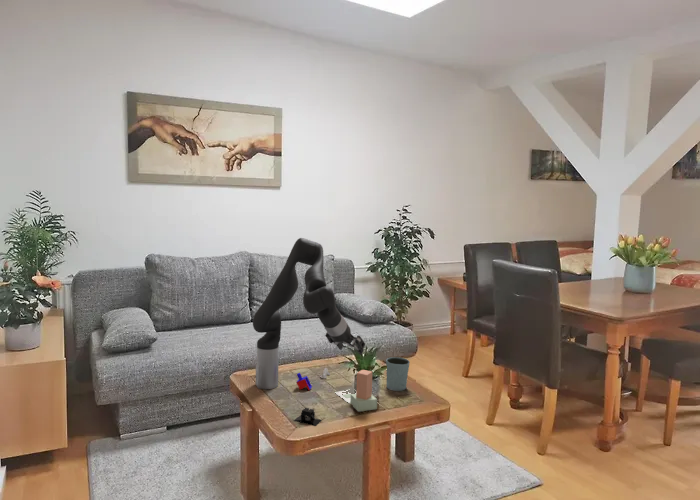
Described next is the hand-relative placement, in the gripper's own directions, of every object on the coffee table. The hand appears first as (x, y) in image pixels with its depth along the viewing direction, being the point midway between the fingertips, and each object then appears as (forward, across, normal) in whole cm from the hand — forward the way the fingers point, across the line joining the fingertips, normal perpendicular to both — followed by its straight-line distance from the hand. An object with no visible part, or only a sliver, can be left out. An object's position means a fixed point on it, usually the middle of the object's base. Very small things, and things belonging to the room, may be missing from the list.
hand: (351, 349), depth 193 cm
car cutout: (+37, +29, +1) cm, 47 cm away
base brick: (+26, -1, +11) cm, 28 cm away
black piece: (+10, +10, +27) cm, 31 cm away
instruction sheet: (+30, +9, +7) cm, 32 cm away
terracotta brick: (+23, -1, +8) cm, 24 cm away
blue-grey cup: (+44, -3, -7) cm, 45 cm away
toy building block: (+28, +30, +10) cm, 42 cm away
